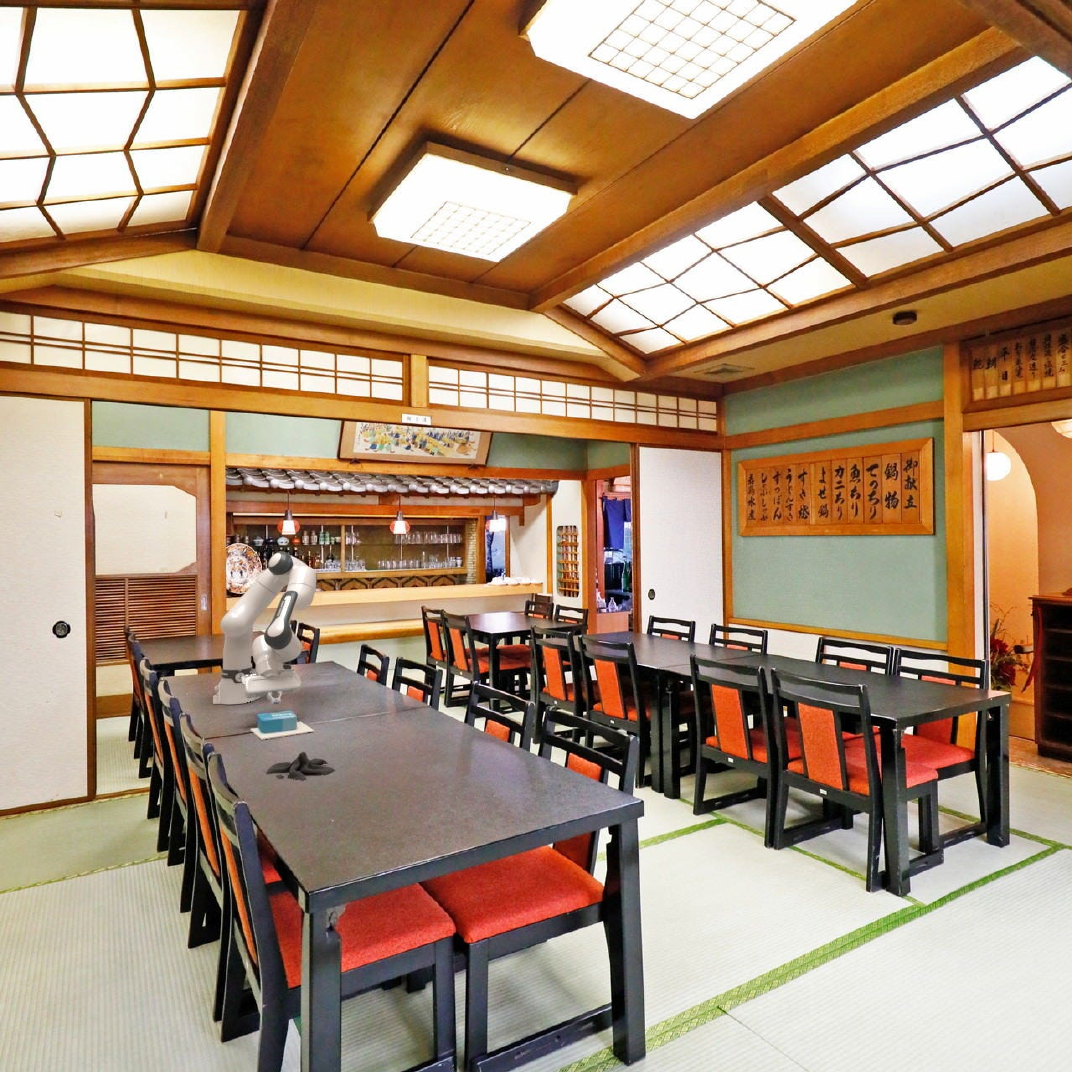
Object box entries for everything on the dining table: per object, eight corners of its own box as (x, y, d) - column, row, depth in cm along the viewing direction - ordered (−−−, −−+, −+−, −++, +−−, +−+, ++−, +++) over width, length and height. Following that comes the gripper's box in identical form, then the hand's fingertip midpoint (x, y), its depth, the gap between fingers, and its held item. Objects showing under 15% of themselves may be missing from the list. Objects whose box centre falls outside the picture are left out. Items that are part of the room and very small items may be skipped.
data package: (291, 710, 259) (297, 716, 248) (291, 722, 259) (297, 729, 248) (256, 713, 253) (262, 720, 242) (256, 726, 253) (262, 733, 242)
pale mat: (250, 730, 249) (250, 728, 249) (300, 723, 260) (300, 721, 260) (261, 740, 236) (261, 738, 236) (314, 732, 247) (314, 730, 247)
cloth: (259, 769, 207) (259, 749, 207) (321, 759, 217) (321, 739, 217) (277, 791, 188) (277, 768, 189) (345, 778, 199) (345, 757, 199)
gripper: (241, 670, 256) (248, 702, 247) (298, 665, 267) (305, 694, 259) (238, 680, 259) (245, 712, 251) (294, 674, 271) (302, 704, 263)
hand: (276, 703), depth 255 cm, fingers closed
